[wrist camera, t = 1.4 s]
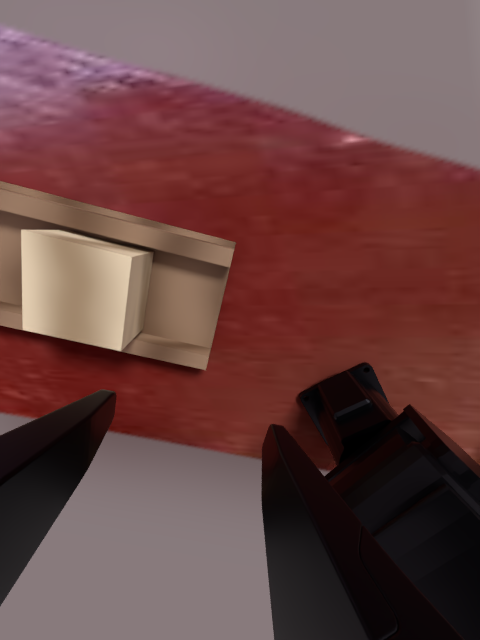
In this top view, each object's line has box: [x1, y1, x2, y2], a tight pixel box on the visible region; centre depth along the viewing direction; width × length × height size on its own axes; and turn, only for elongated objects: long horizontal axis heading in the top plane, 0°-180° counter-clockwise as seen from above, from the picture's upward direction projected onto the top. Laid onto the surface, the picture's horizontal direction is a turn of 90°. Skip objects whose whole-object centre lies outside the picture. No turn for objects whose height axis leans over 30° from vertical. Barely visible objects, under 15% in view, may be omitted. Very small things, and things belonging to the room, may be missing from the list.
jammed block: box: [21, 230, 154, 351], centre depth 17 cm, size 6×6×4 cm
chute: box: [0, 181, 236, 370], centre depth 19 cm, size 25×10×2 cm, turn 76°
